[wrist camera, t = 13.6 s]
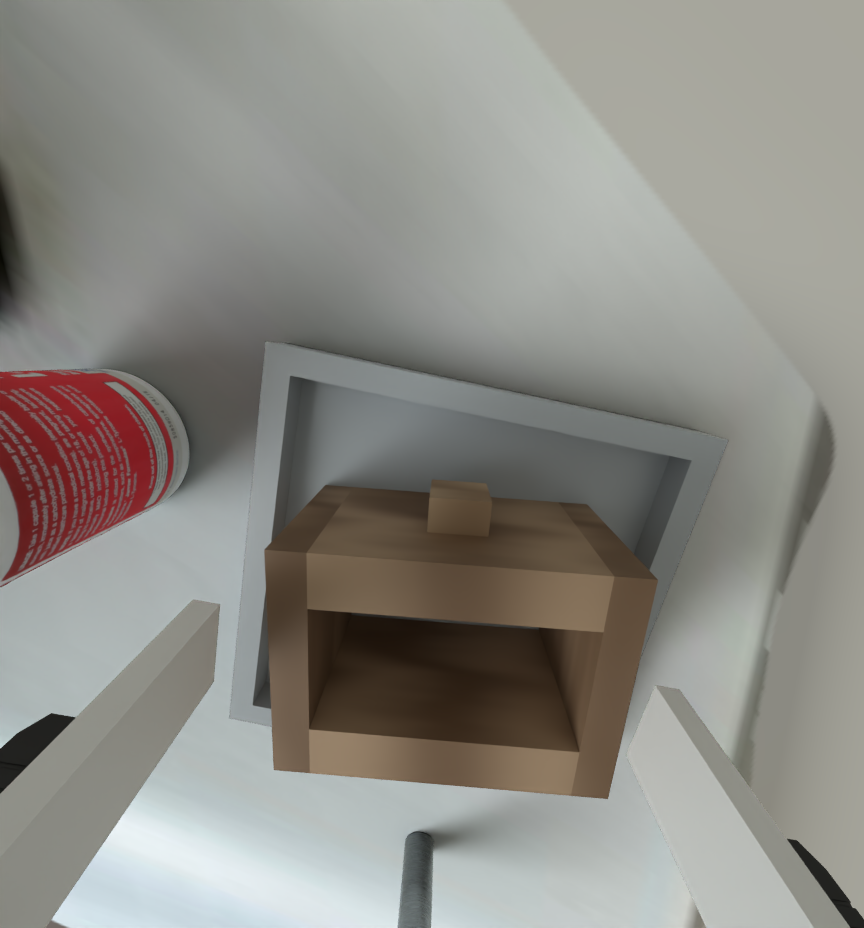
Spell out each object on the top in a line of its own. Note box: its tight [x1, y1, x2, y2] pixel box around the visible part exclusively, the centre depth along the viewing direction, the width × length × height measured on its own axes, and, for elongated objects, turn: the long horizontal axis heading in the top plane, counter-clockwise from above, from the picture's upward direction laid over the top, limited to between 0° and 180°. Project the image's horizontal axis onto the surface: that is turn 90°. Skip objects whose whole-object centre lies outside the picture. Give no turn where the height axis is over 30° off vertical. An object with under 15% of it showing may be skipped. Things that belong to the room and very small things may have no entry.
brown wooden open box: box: [264, 479, 658, 799], centre depth 15 cm, size 11×9×6 cm
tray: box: [229, 341, 728, 727], centre depth 18 cm, size 17×17×2 cm
